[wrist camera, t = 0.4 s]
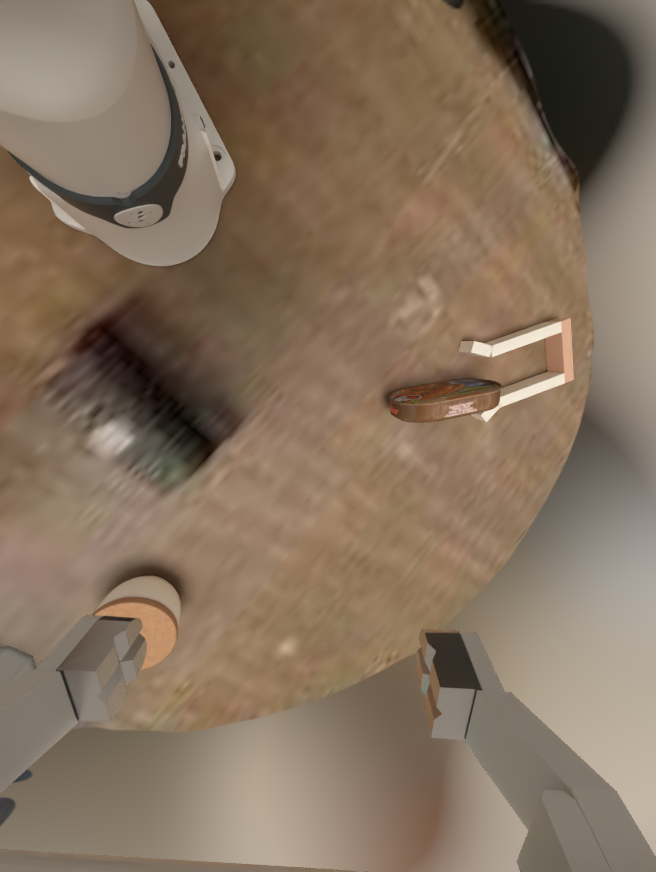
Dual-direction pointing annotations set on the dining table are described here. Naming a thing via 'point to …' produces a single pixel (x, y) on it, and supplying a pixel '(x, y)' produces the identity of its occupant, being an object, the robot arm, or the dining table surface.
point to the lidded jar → (147, 612)
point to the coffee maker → (13, 664)
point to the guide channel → (555, 344)
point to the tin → (444, 400)
